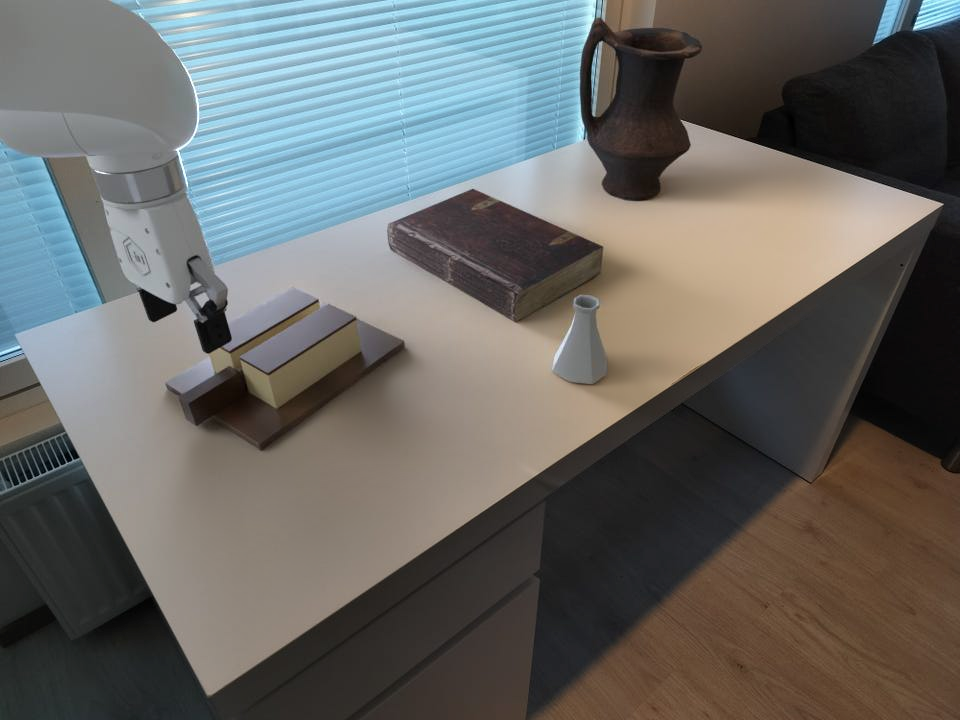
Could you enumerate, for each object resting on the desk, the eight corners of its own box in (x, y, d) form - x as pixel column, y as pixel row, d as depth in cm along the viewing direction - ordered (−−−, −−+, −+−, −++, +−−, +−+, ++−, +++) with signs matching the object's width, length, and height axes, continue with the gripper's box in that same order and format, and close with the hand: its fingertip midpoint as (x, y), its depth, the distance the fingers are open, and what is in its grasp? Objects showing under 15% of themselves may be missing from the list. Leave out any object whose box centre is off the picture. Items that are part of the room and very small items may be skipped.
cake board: (260, 450, 76) (258, 444, 75) (166, 388, 85) (164, 382, 84) (405, 346, 91) (404, 340, 90) (312, 303, 100) (311, 297, 99)
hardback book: (389, 250, 112) (386, 222, 109) (473, 214, 122) (472, 188, 119) (514, 323, 95) (515, 292, 92) (600, 275, 105) (603, 246, 102)
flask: (542, 375, 86) (546, 309, 80) (564, 344, 91) (569, 280, 85) (596, 392, 83) (605, 325, 77) (616, 360, 89) (625, 294, 82)
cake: (276, 409, 80) (267, 373, 77) (213, 371, 86) (202, 336, 82) (361, 351, 89) (356, 316, 85) (299, 320, 94) (292, 286, 91)
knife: (196, 426, 78) (188, 403, 76) (186, 419, 79) (177, 396, 77) (297, 361, 87) (292, 339, 85) (287, 355, 88) (282, 333, 86)
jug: (665, 167, 139) (692, 3, 120) (694, 207, 124) (730, 27, 106) (562, 171, 137) (573, 6, 119) (579, 211, 123) (595, 31, 104)
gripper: (53, 169, 65) (113, 320, 75) (158, 215, 56) (209, 378, 67) (127, 146, 69) (174, 291, 80) (233, 186, 61) (270, 342, 71)
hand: (190, 331), depth 73 cm, fingers open, 9 cm apart
